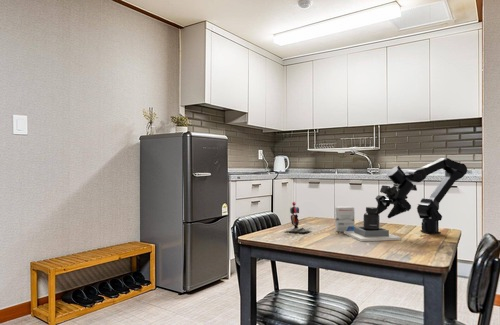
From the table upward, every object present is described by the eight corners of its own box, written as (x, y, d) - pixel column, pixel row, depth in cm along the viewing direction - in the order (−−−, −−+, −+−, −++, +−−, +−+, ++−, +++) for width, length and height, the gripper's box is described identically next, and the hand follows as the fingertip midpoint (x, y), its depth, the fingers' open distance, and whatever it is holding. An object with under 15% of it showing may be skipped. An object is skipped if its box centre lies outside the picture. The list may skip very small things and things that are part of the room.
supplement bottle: (372, 236, 154) (372, 208, 154) (360, 233, 160) (360, 207, 160) (382, 234, 157) (382, 207, 158) (370, 232, 163) (370, 206, 163)
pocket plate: (379, 232, 169) (379, 224, 169) (400, 239, 151) (400, 231, 151) (343, 233, 166) (343, 225, 166) (361, 241, 148) (361, 232, 148)
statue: (284, 234, 170) (280, 203, 171) (292, 231, 178) (288, 201, 179) (305, 234, 164) (300, 202, 165) (312, 230, 172) (308, 200, 173)
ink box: (352, 230, 175) (352, 206, 175) (354, 231, 170) (354, 207, 170) (335, 229, 175) (335, 206, 176) (336, 231, 170) (336, 207, 171)
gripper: (378, 178, 171) (358, 202, 168) (404, 179, 153) (383, 206, 150) (392, 194, 173) (373, 217, 170) (420, 197, 155) (399, 224, 152)
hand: (381, 216), depth 160 cm, fingers open, 9 cm apart
